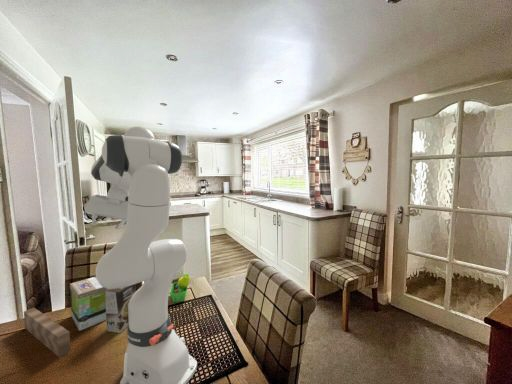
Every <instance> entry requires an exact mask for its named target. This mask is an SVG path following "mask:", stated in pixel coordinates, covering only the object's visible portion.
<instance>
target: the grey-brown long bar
mask: <svg viewBox="0 0 512 384" xmlns="http://www.w3.org/2000/svg"><path fill="white" fill-rule="evenodd" d="M23 321H24V330H26V331H27V332H28V333H29V334H31V336H33V337H35V338H36V339H37V340H38V341H39V342H40V343H41V344H43V345H44V346H45V347H47V348H48V349H49V350H50V351H51V352H52V353H54V354H55V355H56V356H57V357H58V358H61V357H63V356H64V355H66V354H67V353H70V352H71V335H70V331H69V330H67V328H65V327H64V326H62V325H60V324H59V323H58V322H56V321H55V320H53V319H52V318H50V317H48V315H45V313H43V312H41V310H38V309H37V308H35V307H32V308H30V309H27V310H25V311H23Z"/></svg>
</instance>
